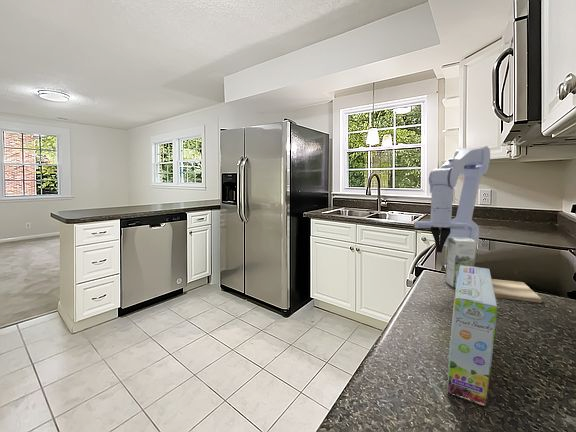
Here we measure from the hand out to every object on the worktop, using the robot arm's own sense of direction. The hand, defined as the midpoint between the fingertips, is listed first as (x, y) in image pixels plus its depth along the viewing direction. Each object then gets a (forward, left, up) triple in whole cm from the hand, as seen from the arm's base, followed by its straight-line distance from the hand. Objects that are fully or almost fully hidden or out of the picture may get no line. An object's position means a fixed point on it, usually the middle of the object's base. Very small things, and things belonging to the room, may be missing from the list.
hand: (438, 251), depth 90 cm
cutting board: (0, +17, -10) cm, 20 cm away
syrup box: (0, +6, -10) cm, 12 cm away
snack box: (+44, +2, -10) cm, 45 cm away
